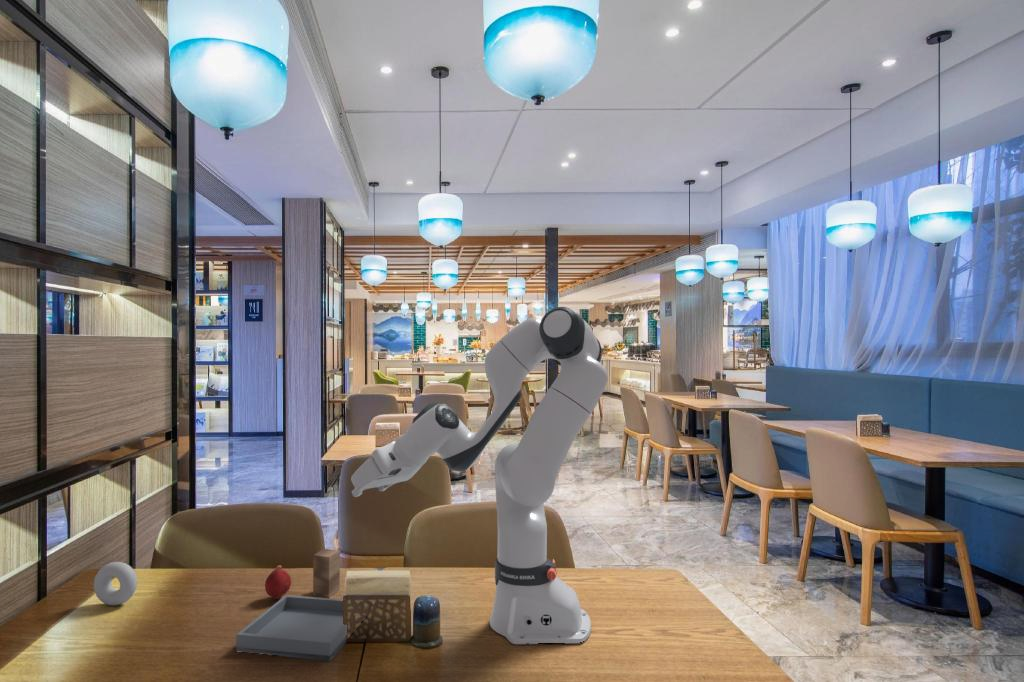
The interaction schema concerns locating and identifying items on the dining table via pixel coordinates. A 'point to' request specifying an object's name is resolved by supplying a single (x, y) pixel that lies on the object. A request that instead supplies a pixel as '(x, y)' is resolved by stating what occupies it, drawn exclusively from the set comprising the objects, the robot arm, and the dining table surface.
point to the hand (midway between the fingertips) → (367, 491)
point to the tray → (297, 629)
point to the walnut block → (326, 573)
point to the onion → (277, 583)
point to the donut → (105, 587)
